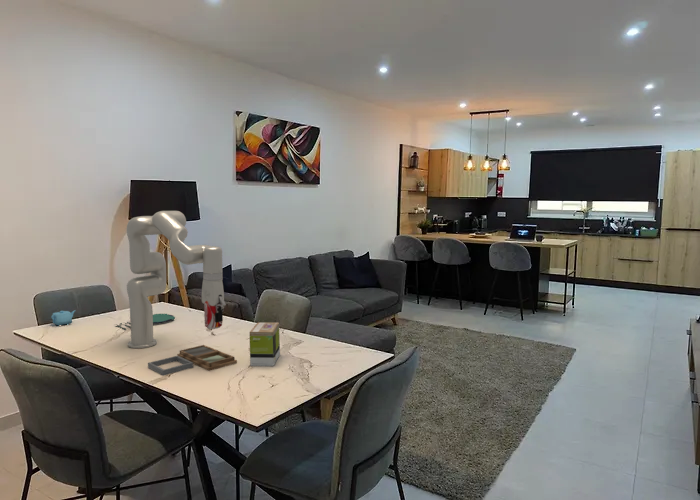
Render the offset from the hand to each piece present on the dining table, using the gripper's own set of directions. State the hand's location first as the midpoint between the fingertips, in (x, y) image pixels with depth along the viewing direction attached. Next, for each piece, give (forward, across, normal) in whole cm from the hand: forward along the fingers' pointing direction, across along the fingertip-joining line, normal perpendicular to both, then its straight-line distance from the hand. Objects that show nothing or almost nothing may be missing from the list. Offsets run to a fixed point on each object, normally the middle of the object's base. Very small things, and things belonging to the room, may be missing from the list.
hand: (213, 319), depth 198 cm
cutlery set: (+19, -84, +10) cm, 86 cm away
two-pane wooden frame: (+18, -6, 0) cm, 19 cm away
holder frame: (+18, -8, -15) cm, 25 cm away
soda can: (+3, 0, 0) cm, 3 cm away
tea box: (+19, +12, +17) cm, 28 cm away
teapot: (+19, -110, -22) cm, 114 cm away
